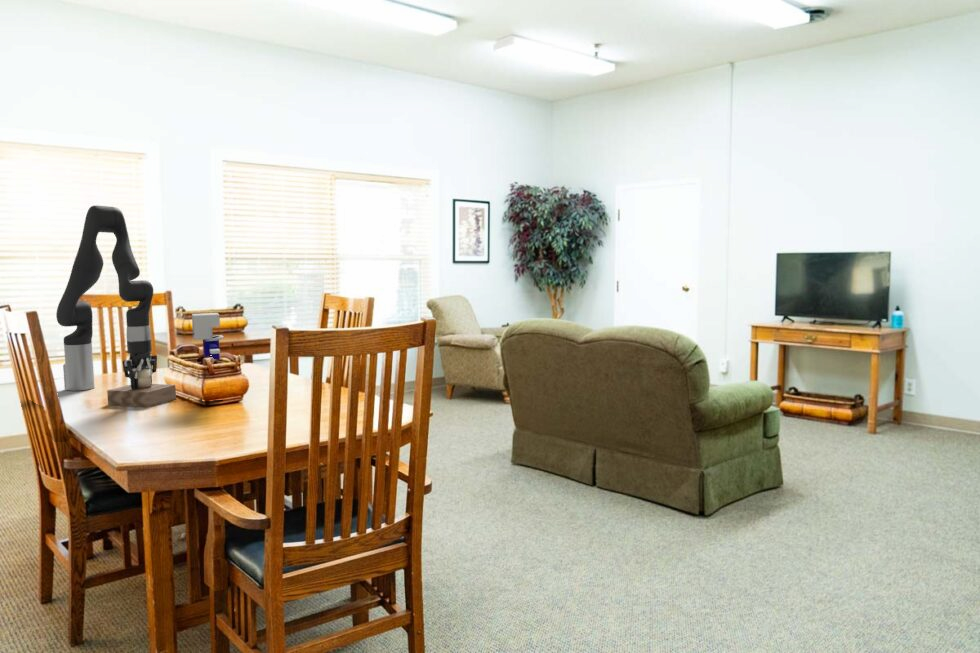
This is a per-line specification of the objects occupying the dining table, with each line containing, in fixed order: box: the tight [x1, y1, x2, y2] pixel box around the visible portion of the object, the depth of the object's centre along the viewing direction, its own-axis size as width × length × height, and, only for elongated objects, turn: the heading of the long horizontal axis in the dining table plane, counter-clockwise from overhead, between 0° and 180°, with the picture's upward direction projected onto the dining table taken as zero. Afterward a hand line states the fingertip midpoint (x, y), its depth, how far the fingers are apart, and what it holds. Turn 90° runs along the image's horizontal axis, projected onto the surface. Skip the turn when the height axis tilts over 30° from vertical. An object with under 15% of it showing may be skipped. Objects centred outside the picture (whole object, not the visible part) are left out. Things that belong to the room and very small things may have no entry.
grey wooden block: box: [106, 383, 177, 408], centre depth 256 cm, size 16×14×5 cm
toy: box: [191, 312, 225, 359], centre depth 257 cm, size 35×10×30 cm, turn 25°
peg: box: [133, 369, 151, 389], centre depth 255 cm, size 6×6×10 cm
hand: (141, 387), depth 255 cm, fingers closed on peg, 5 cm apart
